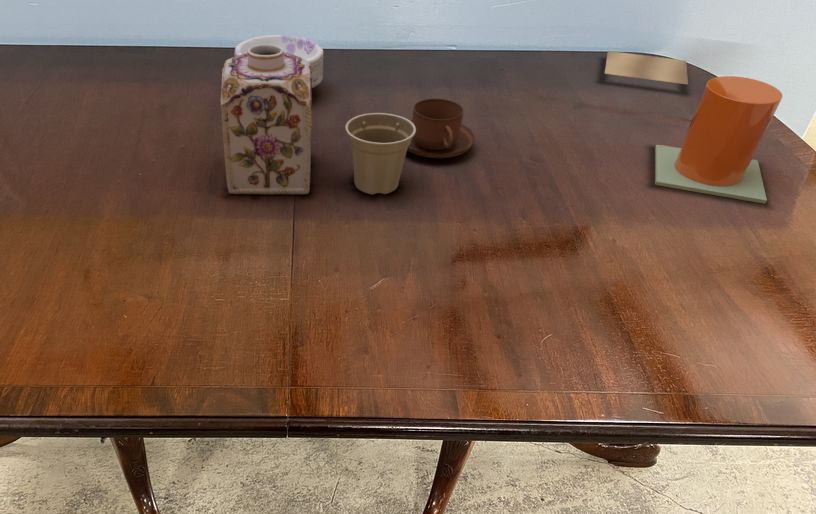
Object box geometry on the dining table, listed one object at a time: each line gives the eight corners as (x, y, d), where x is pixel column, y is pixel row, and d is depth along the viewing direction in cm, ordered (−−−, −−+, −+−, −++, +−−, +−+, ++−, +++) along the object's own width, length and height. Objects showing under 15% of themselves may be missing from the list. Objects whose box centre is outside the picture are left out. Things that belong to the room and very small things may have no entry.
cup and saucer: (489, 152, 102) (496, 114, 98) (427, 173, 97) (433, 134, 93) (437, 123, 110) (443, 86, 105) (378, 141, 105) (381, 103, 101)
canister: (739, 161, 98) (778, 81, 90) (745, 191, 92) (787, 108, 84) (673, 151, 101) (705, 72, 93) (674, 179, 95) (709, 97, 87)
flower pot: (353, 163, 100) (356, 108, 94) (415, 174, 97) (422, 117, 91) (334, 195, 93) (336, 137, 87) (400, 206, 91) (407, 148, 85)
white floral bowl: (331, 80, 123) (332, 36, 117) (311, 116, 112) (311, 68, 106) (252, 73, 125) (249, 29, 120) (225, 106, 114) (221, 60, 109)
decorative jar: (226, 196, 93) (214, 66, 81) (233, 155, 101) (224, 33, 89) (312, 196, 93) (313, 66, 81) (312, 155, 101) (313, 33, 89)
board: (683, 68, 126) (686, 60, 125) (685, 92, 118) (688, 84, 117) (605, 58, 130) (607, 50, 129) (602, 81, 122) (604, 73, 121)
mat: (756, 163, 99) (757, 160, 99) (765, 204, 91) (767, 200, 90) (654, 147, 103) (656, 144, 103) (654, 185, 95) (656, 181, 94)
